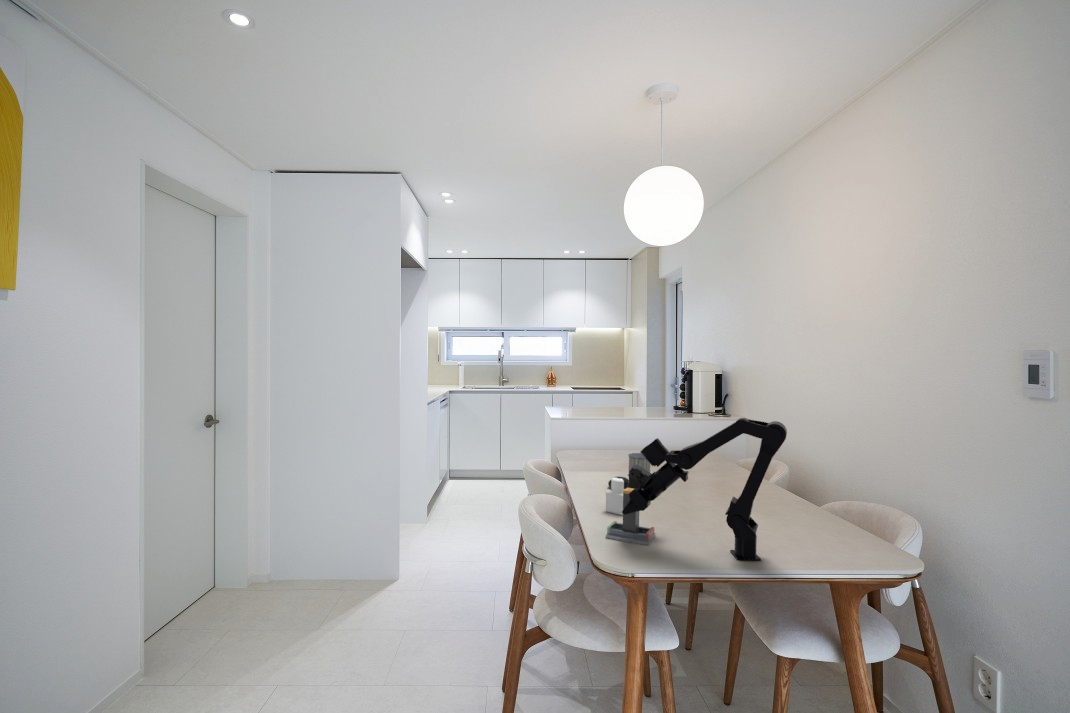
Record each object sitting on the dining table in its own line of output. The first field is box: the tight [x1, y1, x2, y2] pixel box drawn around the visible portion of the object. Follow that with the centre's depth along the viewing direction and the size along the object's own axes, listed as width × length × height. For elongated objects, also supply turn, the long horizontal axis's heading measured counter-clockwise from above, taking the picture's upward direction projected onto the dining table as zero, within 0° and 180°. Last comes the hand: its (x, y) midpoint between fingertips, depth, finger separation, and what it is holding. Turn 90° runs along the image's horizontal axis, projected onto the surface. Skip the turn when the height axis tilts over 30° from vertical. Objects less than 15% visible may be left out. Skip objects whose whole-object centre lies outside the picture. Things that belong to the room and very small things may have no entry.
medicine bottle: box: [605, 476, 629, 516], centre depth 194 cm, size 7×7×12 cm
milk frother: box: [608, 452, 651, 489], centre depth 223 cm, size 14×16×15 cm
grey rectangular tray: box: [605, 520, 656, 546], centre depth 168 cm, size 13×9×3 cm
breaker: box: [622, 488, 640, 533], centre depth 168 cm, size 4×4×13 cm
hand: (626, 509), depth 168 cm, fingers open, 8 cm apart
